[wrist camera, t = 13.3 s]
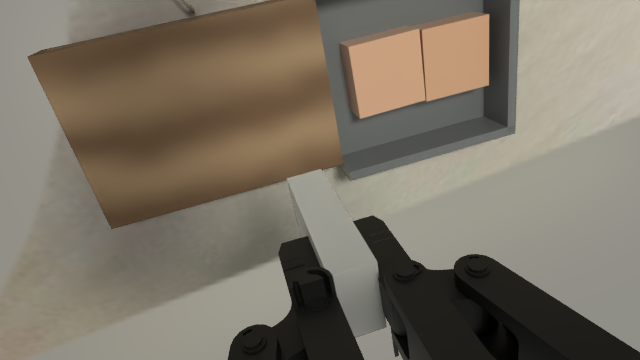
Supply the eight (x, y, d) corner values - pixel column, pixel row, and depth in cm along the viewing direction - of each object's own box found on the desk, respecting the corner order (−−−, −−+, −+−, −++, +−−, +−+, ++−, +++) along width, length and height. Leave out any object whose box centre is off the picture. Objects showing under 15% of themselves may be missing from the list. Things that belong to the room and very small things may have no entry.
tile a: (339, 42, 36) (348, 47, 34) (406, 25, 37) (419, 28, 34) (350, 110, 39) (360, 118, 36) (412, 93, 39) (425, 100, 37)
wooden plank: (41, 50, 31) (27, 56, 29) (305, -8, 34) (314, -6, 32) (117, 211, 38) (111, 229, 35) (334, 151, 41) (343, 163, 38)
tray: (302, -21, 34) (316, -21, 30) (486, -61, 36) (521, -65, 32) (335, 161, 41) (350, 180, 37) (486, 119, 44) (515, 133, 40)
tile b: (408, 26, 37) (422, 30, 35) (472, 11, 38) (489, 13, 35) (413, 94, 39) (426, 101, 37) (472, 79, 40) (488, 85, 38)
